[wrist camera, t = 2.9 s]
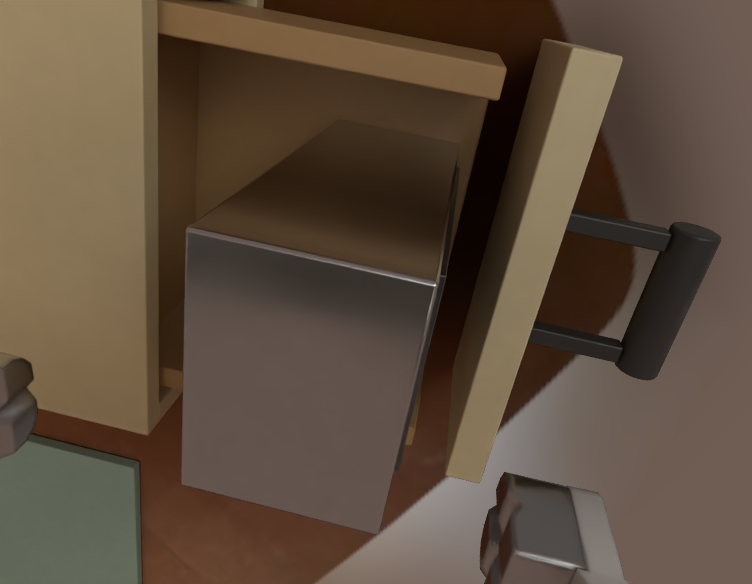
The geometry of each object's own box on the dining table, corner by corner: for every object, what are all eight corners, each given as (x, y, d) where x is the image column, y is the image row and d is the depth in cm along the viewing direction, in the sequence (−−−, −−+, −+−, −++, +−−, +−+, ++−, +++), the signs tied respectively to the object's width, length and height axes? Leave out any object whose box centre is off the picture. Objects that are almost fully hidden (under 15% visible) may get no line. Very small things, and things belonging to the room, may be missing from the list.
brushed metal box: (464, 143, 20) (448, 286, 9) (429, 294, 23) (385, 538, 12) (338, 118, 20) (183, 226, 10) (318, 269, 23) (179, 486, 12)
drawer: (727, 73, 19) (845, 98, 13) (591, 398, 25) (627, 521, 19) (194, -28, 20) (71, -48, 14) (187, 304, 26) (98, 390, 20)
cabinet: (266, -34, 20) (140, -65, 13) (241, 318, 27) (147, 436, 19) (-107, -103, 22) (-432, -171, 14) (-44, 251, 28) (-242, 339, 20)
